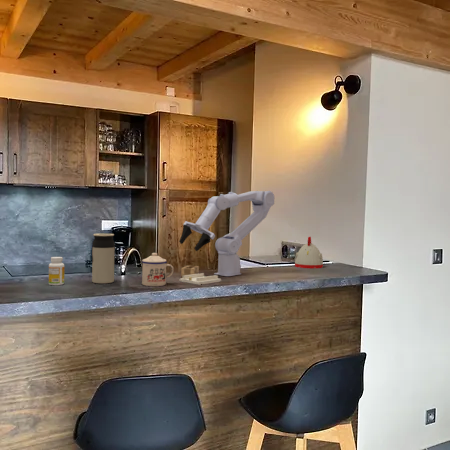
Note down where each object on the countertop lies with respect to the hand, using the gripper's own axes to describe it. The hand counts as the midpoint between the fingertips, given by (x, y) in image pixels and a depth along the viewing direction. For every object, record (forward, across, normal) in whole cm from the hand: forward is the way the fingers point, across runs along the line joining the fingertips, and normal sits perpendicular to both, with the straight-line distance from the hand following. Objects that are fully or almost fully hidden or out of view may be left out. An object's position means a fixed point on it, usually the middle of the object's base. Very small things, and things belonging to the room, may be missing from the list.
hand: (188, 246), depth 198 cm
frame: (+8, +3, +10) cm, 13 cm away
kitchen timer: (-37, +30, +59) cm, 76 cm away
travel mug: (+31, -15, -11) cm, 36 cm away
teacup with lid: (+21, +3, -8) cm, 23 cm away
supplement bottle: (+41, -24, -20) cm, 52 cm away
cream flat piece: (+10, +12, +3) cm, 16 cm away
